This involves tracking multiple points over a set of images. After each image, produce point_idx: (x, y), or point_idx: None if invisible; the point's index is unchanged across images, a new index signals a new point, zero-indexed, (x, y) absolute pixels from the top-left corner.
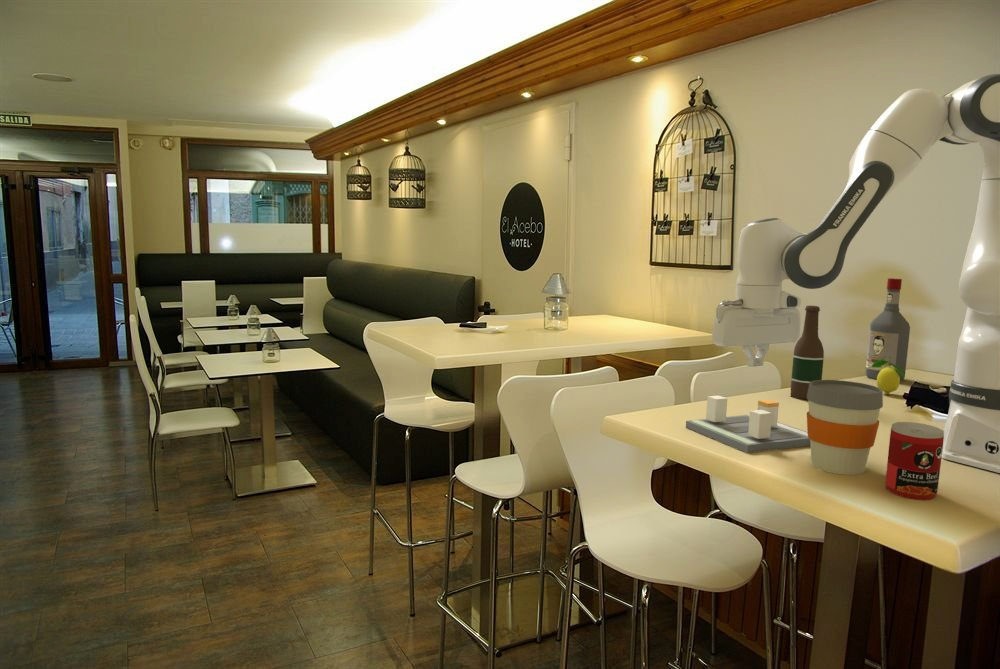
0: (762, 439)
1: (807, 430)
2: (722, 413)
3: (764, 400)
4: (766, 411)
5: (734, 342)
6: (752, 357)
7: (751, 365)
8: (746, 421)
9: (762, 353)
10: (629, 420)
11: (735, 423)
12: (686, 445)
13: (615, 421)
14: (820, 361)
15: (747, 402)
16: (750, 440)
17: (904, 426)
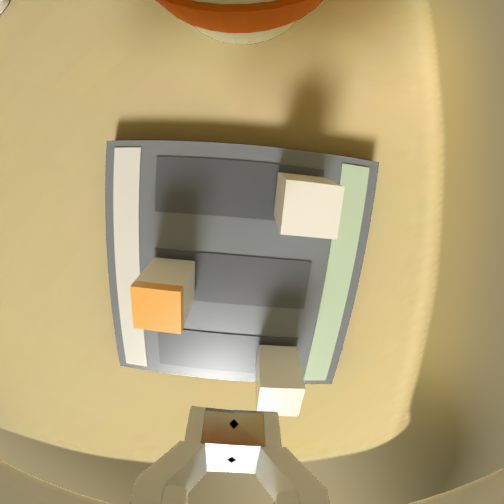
0: None
1: (305, 13)
2: (273, 358)
3: (157, 327)
4: (286, 205)
5: (496, 491)
6: (288, 451)
7: (277, 417)
8: (191, 331)
9: (188, 467)
10: (379, 428)
11: (233, 331)
12: (437, 269)
13: (403, 426)
14: None
15: (65, 426)
16: None
17: None
